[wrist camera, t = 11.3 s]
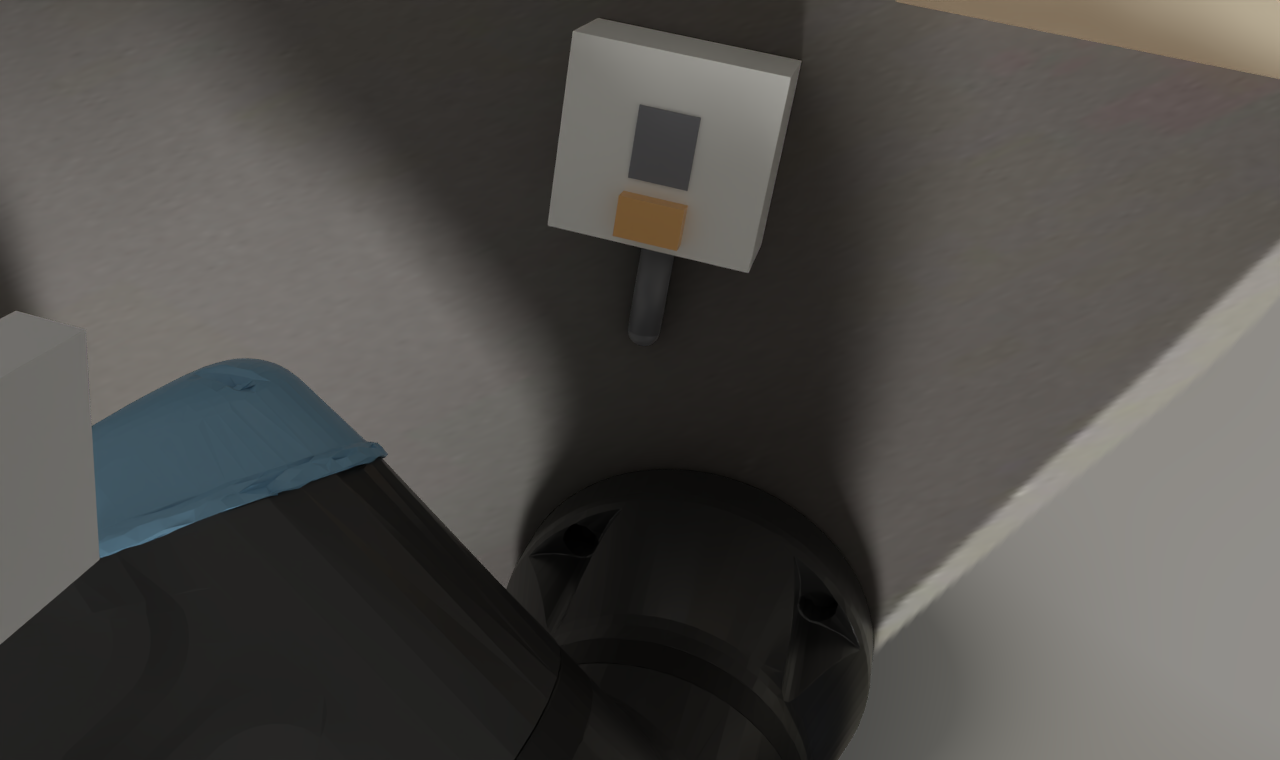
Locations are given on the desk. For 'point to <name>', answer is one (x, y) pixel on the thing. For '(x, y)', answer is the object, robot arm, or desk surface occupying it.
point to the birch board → (1149, 26)
